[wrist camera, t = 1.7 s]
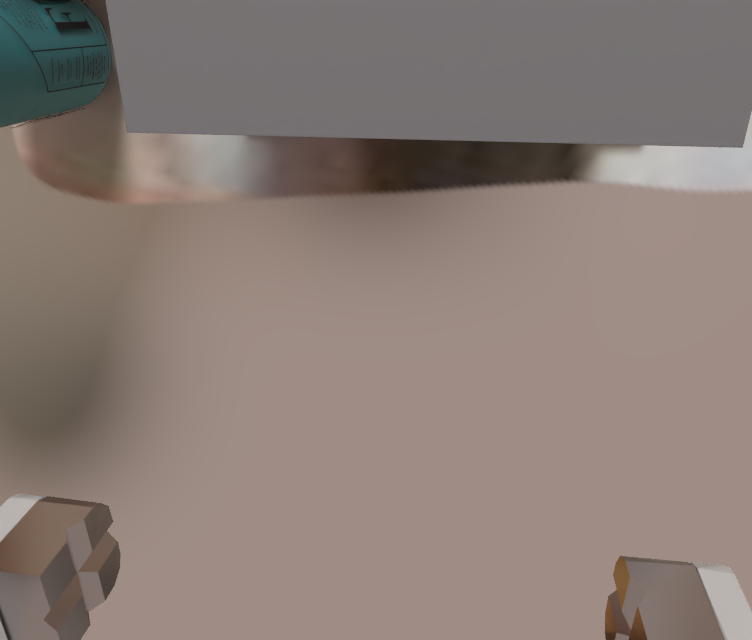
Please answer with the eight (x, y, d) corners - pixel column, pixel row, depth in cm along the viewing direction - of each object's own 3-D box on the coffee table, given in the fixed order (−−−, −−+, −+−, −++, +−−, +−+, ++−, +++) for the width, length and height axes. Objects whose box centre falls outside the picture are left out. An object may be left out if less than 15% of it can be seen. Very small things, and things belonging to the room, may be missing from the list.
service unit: (692, -112, 29) (941, -256, 14) (651, 115, 34) (804, 203, 18) (230, -102, 32) (-3, -211, 16) (248, 107, 36) (76, 178, 21)
